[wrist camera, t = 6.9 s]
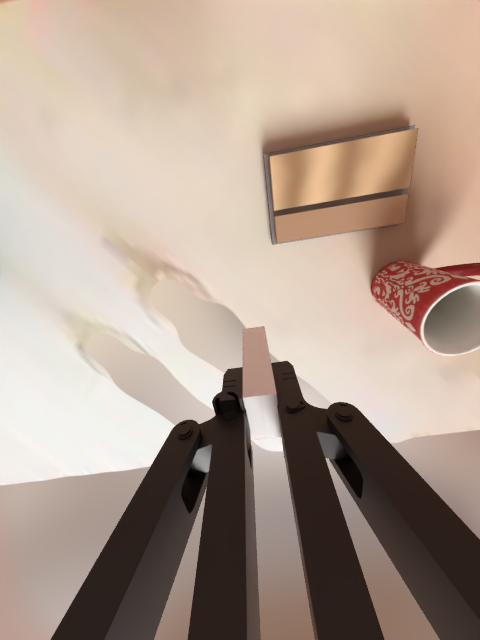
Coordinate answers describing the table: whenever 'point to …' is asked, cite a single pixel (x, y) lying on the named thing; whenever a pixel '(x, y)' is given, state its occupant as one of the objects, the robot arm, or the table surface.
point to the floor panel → (335, 208)
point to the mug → (433, 304)
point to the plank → (343, 170)
